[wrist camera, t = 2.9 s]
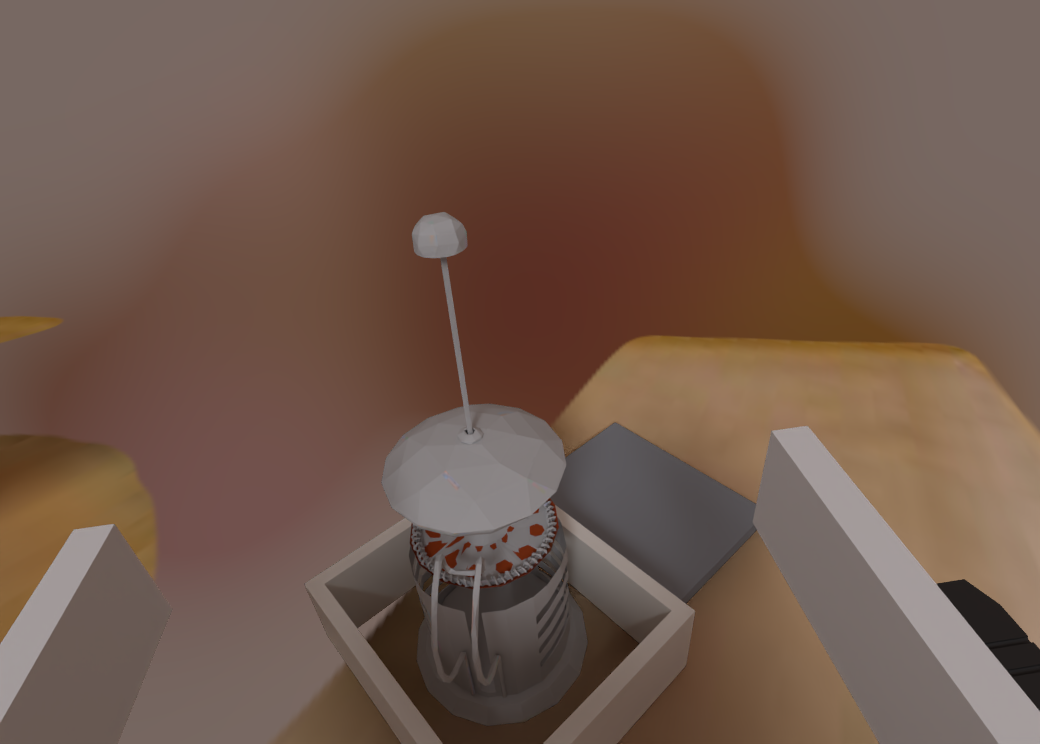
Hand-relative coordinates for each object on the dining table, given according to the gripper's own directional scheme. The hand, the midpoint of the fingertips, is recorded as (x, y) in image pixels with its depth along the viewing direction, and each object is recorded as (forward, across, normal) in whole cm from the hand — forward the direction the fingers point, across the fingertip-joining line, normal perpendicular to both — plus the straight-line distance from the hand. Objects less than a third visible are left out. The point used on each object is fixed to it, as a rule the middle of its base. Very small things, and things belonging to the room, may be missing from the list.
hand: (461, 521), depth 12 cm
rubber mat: (+19, +10, -22) cm, 31 cm away
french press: (+10, 0, -22) cm, 25 cm away
